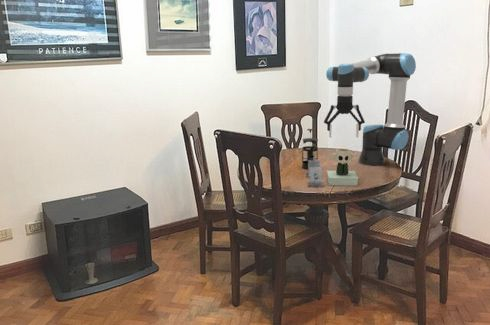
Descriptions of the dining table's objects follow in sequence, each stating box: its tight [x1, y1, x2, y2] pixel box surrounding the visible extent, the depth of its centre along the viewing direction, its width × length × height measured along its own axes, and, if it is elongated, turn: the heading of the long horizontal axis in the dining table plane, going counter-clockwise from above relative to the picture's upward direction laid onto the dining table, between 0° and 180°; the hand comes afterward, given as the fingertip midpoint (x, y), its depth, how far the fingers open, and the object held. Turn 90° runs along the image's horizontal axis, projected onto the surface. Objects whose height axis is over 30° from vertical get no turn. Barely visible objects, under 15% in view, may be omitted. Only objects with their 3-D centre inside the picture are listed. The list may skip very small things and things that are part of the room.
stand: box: [326, 170, 359, 187], centre depth 236 cm, size 15×15×4 cm
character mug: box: [331, 148, 355, 175], centre depth 234 cm, size 11×7×13 cm, turn 86°
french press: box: [301, 128, 319, 170], centre depth 264 cm, size 12×9×23 cm
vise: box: [305, 159, 325, 188], centre depth 238 cm, size 8×25×9 cm, turn 175°
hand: (343, 137), depth 232 cm, fingers open, 13 cm apart
